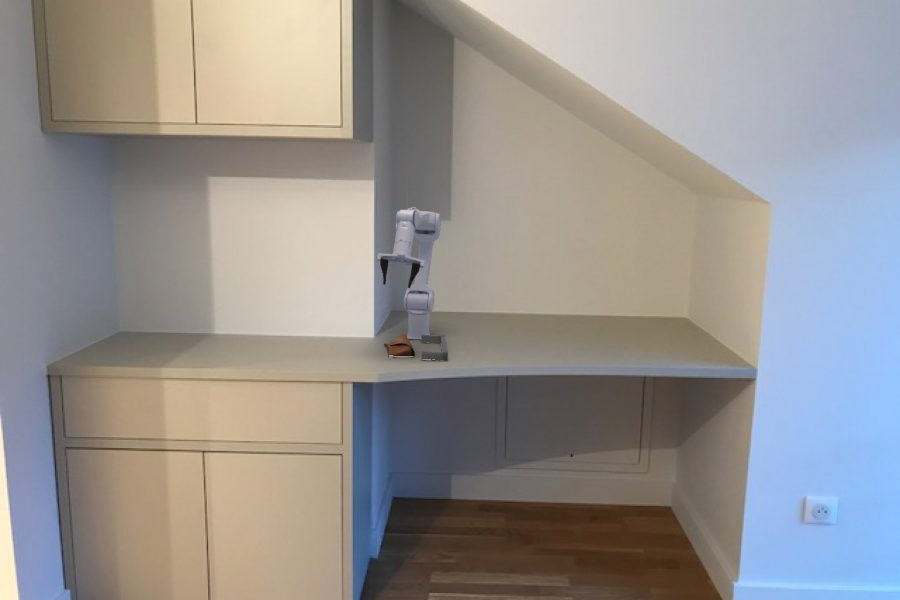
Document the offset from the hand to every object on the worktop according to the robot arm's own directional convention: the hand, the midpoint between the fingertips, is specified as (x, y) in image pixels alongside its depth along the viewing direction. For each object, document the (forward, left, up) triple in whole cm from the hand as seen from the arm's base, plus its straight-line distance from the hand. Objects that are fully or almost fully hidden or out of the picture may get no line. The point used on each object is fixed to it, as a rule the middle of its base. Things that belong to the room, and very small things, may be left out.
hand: (396, 285), depth 216 cm
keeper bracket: (-9, +12, -23) cm, 27 cm away
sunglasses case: (-9, +1, -24) cm, 25 cm away
